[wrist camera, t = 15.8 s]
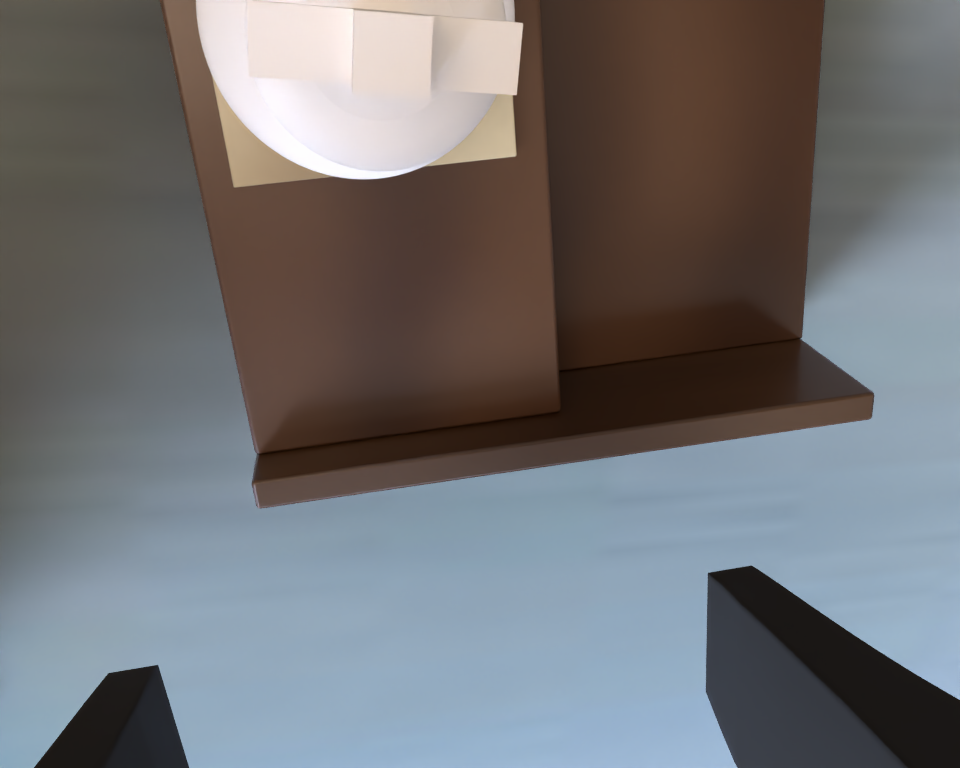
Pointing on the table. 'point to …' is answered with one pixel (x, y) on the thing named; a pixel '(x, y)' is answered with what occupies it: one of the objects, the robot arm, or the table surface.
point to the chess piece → (361, 76)
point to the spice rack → (534, 258)
